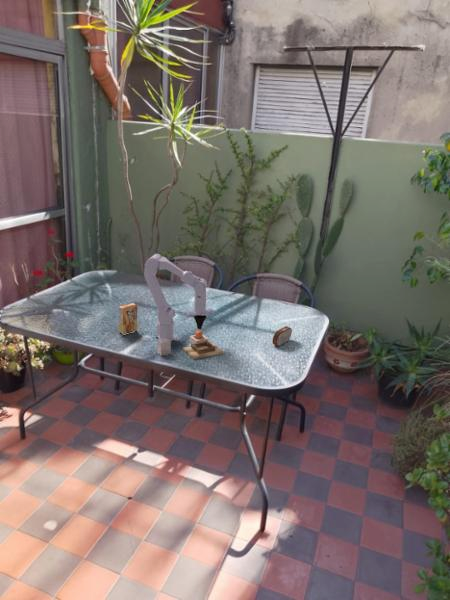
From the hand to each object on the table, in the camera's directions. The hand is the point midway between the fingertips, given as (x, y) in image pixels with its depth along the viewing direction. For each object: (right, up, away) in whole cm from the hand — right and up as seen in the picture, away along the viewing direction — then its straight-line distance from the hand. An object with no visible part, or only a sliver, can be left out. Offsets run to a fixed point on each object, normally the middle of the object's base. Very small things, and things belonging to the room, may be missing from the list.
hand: (199, 328), depth 227 cm
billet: (-16, -11, -11) cm, 23 cm away
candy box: (-38, -3, +9) cm, 39 cm away
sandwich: (+43, -8, +7) cm, 44 cm away
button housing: (0, -7, +3) cm, 8 cm away
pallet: (+2, -11, -7) cm, 13 cm away
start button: (0, -5, +2) cm, 5 cm away
